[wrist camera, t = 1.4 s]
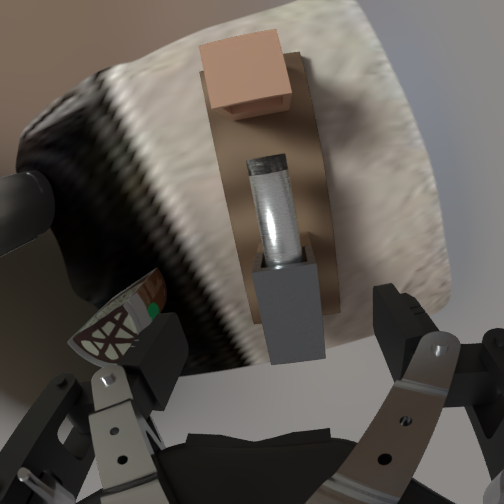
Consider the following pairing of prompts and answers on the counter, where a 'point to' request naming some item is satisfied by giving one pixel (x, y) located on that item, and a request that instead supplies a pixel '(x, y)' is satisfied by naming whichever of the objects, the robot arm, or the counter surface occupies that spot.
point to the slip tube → (275, 209)
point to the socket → (246, 75)
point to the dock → (301, 176)
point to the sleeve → (290, 309)
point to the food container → (121, 321)
